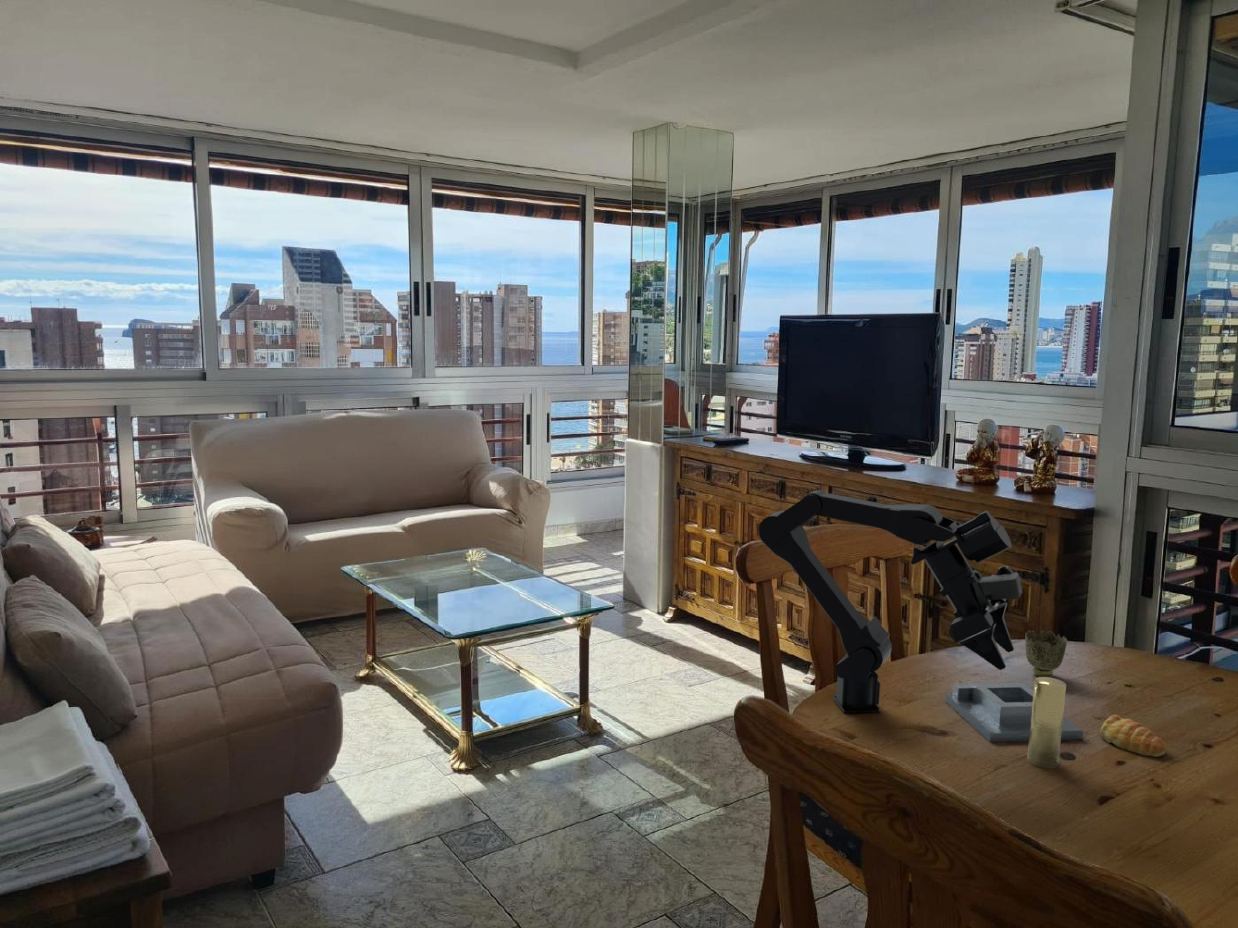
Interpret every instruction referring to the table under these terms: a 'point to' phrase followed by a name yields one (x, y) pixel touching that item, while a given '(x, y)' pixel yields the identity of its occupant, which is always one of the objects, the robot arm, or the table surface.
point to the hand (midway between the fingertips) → (1007, 659)
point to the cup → (1044, 652)
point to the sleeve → (1046, 722)
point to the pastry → (1132, 736)
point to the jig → (1001, 710)
